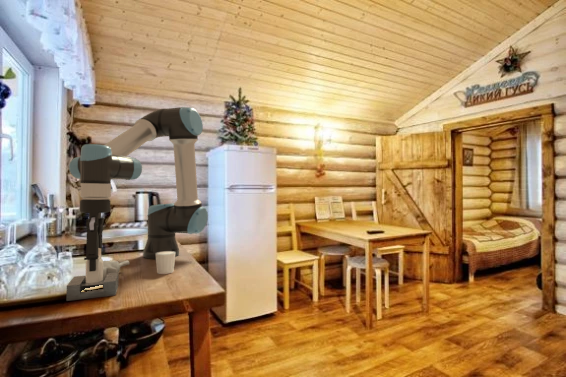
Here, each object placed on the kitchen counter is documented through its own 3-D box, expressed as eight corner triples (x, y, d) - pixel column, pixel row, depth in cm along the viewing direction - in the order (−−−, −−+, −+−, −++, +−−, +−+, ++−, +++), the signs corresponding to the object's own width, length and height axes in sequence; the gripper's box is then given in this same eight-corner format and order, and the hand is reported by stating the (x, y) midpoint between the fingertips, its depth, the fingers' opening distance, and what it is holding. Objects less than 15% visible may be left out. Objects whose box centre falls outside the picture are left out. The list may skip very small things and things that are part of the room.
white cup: (168, 275, 107) (168, 255, 107) (151, 273, 108) (151, 254, 108) (179, 270, 114) (179, 251, 114) (162, 269, 115) (162, 250, 115)
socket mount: (74, 290, 90) (74, 276, 90) (118, 285, 95) (118, 272, 95) (66, 300, 81) (66, 285, 81) (115, 295, 86) (115, 281, 86)
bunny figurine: (79, 270, 97) (107, 254, 112) (80, 285, 98) (107, 268, 113) (108, 270, 97) (132, 255, 112) (109, 286, 98) (133, 268, 113)
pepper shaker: (85, 281, 88) (85, 248, 88) (101, 279, 91) (101, 247, 91) (86, 285, 85) (87, 250, 85) (103, 282, 88) (103, 249, 88)
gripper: (85, 197, 95) (84, 273, 95) (73, 199, 79) (72, 290, 78) (113, 197, 98) (112, 271, 98) (107, 199, 82) (105, 287, 82)
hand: (94, 279), depth 88 cm, fingers closed on pepper shaker, 4 cm apart
